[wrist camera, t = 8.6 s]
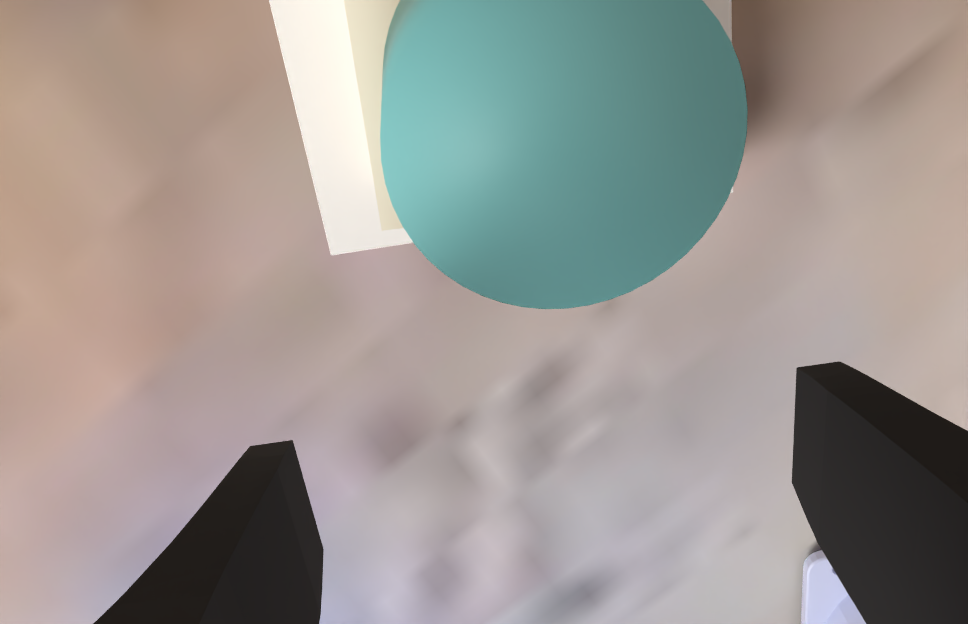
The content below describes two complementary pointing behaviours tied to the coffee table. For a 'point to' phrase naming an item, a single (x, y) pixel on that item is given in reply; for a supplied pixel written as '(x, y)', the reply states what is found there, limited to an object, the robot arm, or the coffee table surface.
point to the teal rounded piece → (559, 140)
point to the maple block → (372, 85)
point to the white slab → (345, 118)
